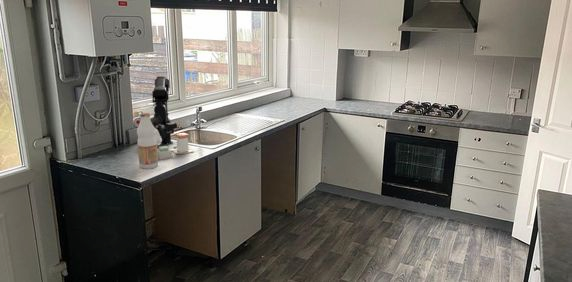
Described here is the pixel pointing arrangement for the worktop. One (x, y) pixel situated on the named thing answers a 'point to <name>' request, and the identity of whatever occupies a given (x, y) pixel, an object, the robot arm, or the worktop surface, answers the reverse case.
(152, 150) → the fruit juice
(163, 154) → the button base
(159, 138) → the mug
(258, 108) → the worktop surface
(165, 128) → the robot arm
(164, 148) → the button
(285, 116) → the worktop surface
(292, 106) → the worktop surface
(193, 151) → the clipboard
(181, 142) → the white pill bottle
